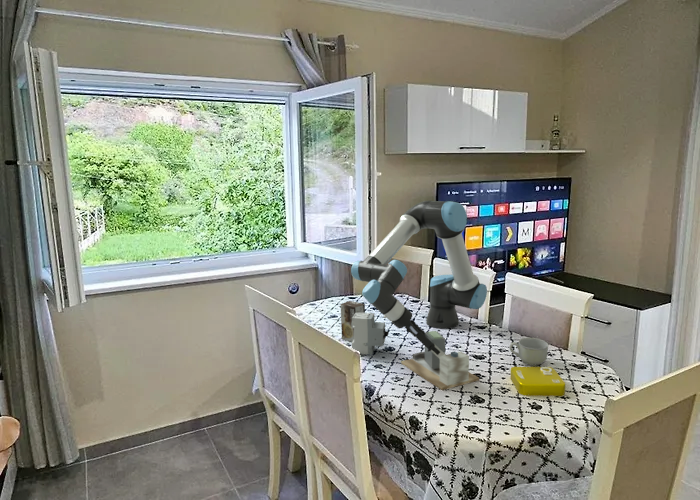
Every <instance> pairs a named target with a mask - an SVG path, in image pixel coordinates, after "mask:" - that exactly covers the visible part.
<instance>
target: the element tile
mask: <svg viewBox="0 0 700 500" xmlns="http://www.w3.org/2000/svg"><path fill="white" fill-rule="evenodd" d="M509 379H510V381H511V382H512V384H513V386H514V388H515V389H516V391H517V393H518V394H519V395H520V396H521V395H522V396H525V395H526V397H527V396H528V397H542V396H543V397H563V396H565V395H566V382H565V381H564V380H563V378H562V377H561V376H560V375H559V373H558V372H557V371H556V370H555V369H554V367H551V366H511V368H510V377H509Z"/></svg>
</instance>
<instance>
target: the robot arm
mask: <svg viewBox="0 0 700 500" xmlns="http://www.w3.org/2000/svg"><path fill="white" fill-rule="evenodd" d="M466 210H467V209H465V207H464V206H463V205H462V204H461V203H459V202H455V201H450V200H448V201H441V200H438V201H437V200H423V201H420V202H418V203H416V204H414V205H412V206H411V207H409V209H408V210H406V211H405V212H404V213H403V214H402V215H401V217H399V221H398V223H397V224H396V225H395V226H394V228H392V230H391V231H389V232H388V234H387V235H386V236H385V237H384V238H383V239H382V240H381V242H380V243H379V244H378V245H377V246H376V247H375V248H374V249H373V250H372V251H371V252H370V253H369V255H368V256H367V257H366V258H364V260H357V261H354V262H353V264H352V266H351V269H350V272H351V273H350V274H351V276H352V277H353V278H354V279H355V280H356V281H357V280H358V281H361V282H367V284H365V286H364V288H363V289H362V292H361V293H362V297H363V298H364V299H366V301H367V302H368V303H369V304H370V305H372V307H374V308H375V309H376V310H378V312H380V313H381V314H382V315H383V318H384V319H387V320H389V322H391V323H392V324H393V325H394V326H395V327H396V328H397V329H404V328H405V330H406V331H407V332H408V333H410V334H411V335H412V336H413V337H414V338H416V339H417V340H418V341H419V342H420V343H421V344H422V345H424V347H425V346H426V347H427V348H428V352H429V351H431V352H432V353H434V354H435V355H436V356H437V357H438V358H439V359H440V356H443V355H447V354H446V352H445V353H444V352H443V351H442V350H440V349H439V348H438V347H437V346H436V345H435V344H434V343H432V342H431V341H430V340H429V339H428V338H427V337H426V336H425V333H427V331H426V332H425V330H424V329H422V328H421V327H420V326H419V325H418V324H417V323H416V322H415V320H413V319H412V318H413V313H412V311H410V310H409V309H408V308H407V307H405V305H404V304H403V303H402V302H401V301H400V300H399V299H397V298H396V297H395V295H394V293H395V292H396V291H397V290H398V288H399V286H400V285H401V283H402V282H403V280H404V279H405V277H406V275H407V273H408V268H407V266H406V264H404V263H403V262H402V261H401V260H398V259H392V258H393V257H395V255H396V254H397V253H398V252H399V251H400V250H401V248H402V247H403V246H404V245H405V244H406V243H407V242H408V240H409V239H410V238H411V237H412V236H413V235H415V234H418V232H420V231H421V230H424V229H430V230H431V229H432V230H434V232H435V235H436V237H437V238H439V239H441V241H442V245H443V248H444V251H445V254H446V258H447V260H448V264H449V267H450V270H451V273H452V274H439V275H435V276H433V277H432V278H430V285H429V305H430V306H429V310H428V313H427V316H426V321H425V322H426V325H428V326H429V327H432V328H435V329H453V328H456V327H458V326H459V324H460V323H459V322H460V320H459V317H458V312H457V310H456V309H457V308H456V306H458V307H461V308H467V309H470V310H480V309H481V308H482V307H483V305H484V304H485V302H486V299H487V294H488V288H487V286H486V284H485V283H480V280H479V277H478V276H477V275H476V274H474V272H473V268H472V265H471V261H470V257H469V255H468V251H467V247H466V245H465V244H466V243H465V240H464V236H463V232H464V230H465V228H466V226H467V224H468V223H467V222H468V220H467V219H468V215H467V211H466Z"/></svg>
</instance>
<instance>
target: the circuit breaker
mask: <svg viewBox="0 0 700 500" xmlns="http://www.w3.org/2000/svg"><path fill="white" fill-rule="evenodd" d="M375 320H376V319H375V313H373V312H372V313H371V312H365V313H355V314H354V316H353V317H352V323H351V325H352V328H354V340H353V342H351V349H352V348H353V349H355V350H357V351H359V352H360V353H362V354H361V355H367V354H371V355H373V353H374V352H375V349H376V347H383V346H384V344H385V341H386V337H388V336H389V334H390V333H389V331H388V330H386V322H384V321H382V322H380V321H379V322H377V321H375Z"/></svg>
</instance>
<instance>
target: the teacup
mask: <svg viewBox="0 0 700 500" xmlns="http://www.w3.org/2000/svg"><path fill="white" fill-rule="evenodd" d="M514 346H516V349H517V350H518V351H517V352H516V351H515V350H514V349H513V347H514ZM508 348H509V351H510V352H511V353H512V354H513V355H515V356H516V357H517V358H519V360H521V361H522V362H523V363H524V364H526V365H528V366H540V365H541V364H543V363H545V362H546V361H547V358H548V353H549V352H548V349H549V343H548V342H547V341H546V340H543V339H542V338H538V337H522V338H520V339H519V340H518V342H511V343H510V344H509V347H508Z"/></svg>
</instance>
